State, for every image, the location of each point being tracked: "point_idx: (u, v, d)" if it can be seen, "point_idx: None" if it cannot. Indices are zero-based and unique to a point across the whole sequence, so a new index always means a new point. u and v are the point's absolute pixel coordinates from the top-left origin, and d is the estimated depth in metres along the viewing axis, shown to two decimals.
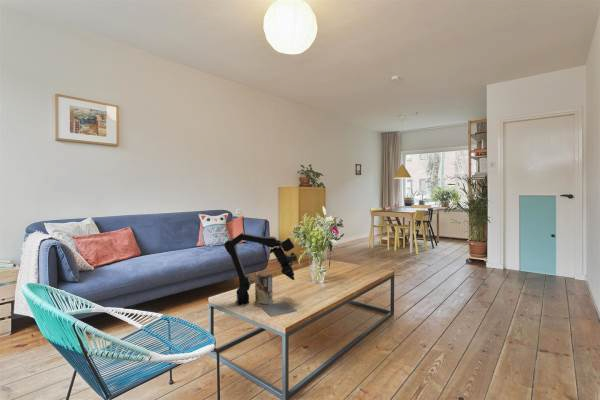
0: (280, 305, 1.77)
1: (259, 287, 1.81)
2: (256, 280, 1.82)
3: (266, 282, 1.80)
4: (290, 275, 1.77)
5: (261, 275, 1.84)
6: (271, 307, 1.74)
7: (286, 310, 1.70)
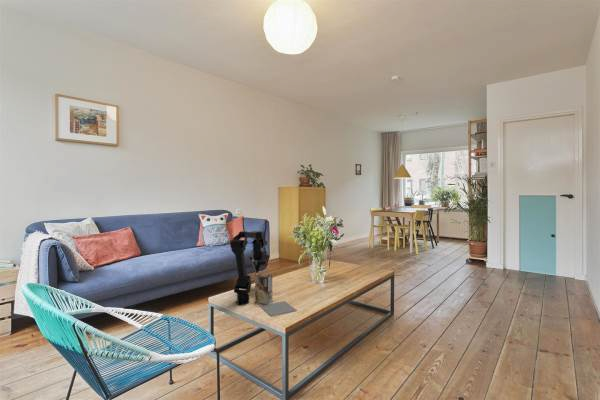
0: (280, 305, 1.77)
1: (259, 287, 1.81)
2: (256, 280, 1.82)
3: (266, 282, 1.80)
4: (257, 268, 2.00)
5: (261, 275, 1.84)
6: (271, 307, 1.74)
7: (286, 310, 1.70)
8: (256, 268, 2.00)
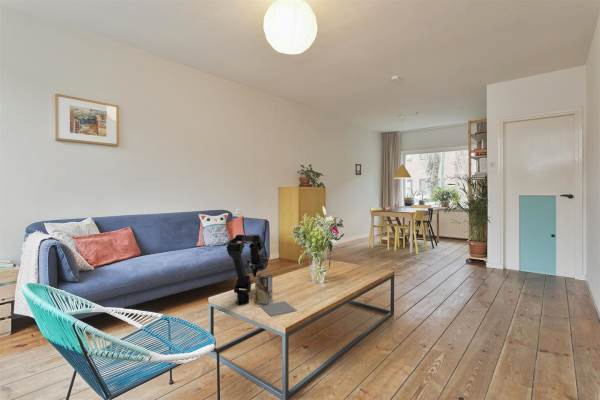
0: (280, 305, 1.77)
1: (259, 287, 1.81)
2: (256, 280, 1.82)
3: (266, 282, 1.80)
4: (254, 272, 1.97)
5: (261, 275, 1.84)
6: (271, 307, 1.74)
7: (286, 310, 1.70)
8: (254, 272, 1.96)
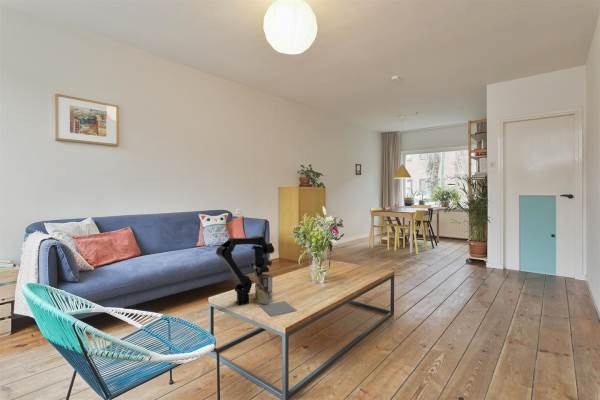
0: (280, 305, 1.77)
1: (259, 287, 1.81)
2: (256, 280, 1.82)
3: (266, 282, 1.80)
4: None
5: (261, 275, 1.84)
6: (271, 307, 1.74)
7: (286, 310, 1.70)
8: None
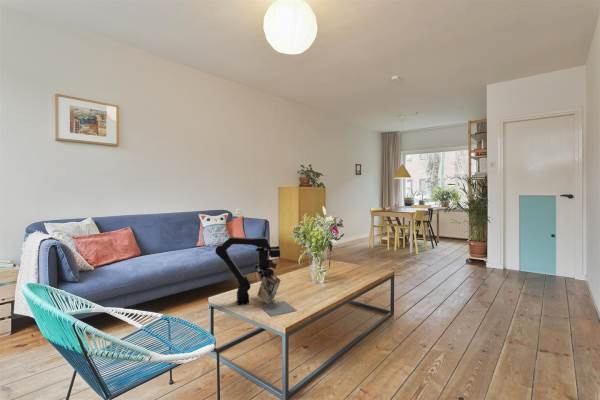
0: (280, 305, 1.77)
1: (264, 287, 1.78)
2: (263, 280, 1.77)
3: (272, 287, 1.74)
4: None
5: (270, 276, 1.77)
6: (271, 307, 1.74)
7: (286, 310, 1.70)
8: (262, 278, 1.83)
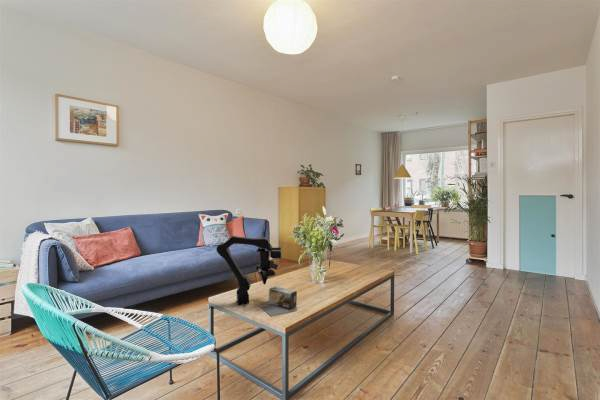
0: None
1: (281, 297, 1.74)
2: (287, 295, 1.72)
3: (285, 306, 1.73)
4: (264, 279, 1.82)
5: (293, 297, 1.73)
6: (271, 307, 1.74)
7: (286, 310, 1.70)
8: (263, 279, 1.81)
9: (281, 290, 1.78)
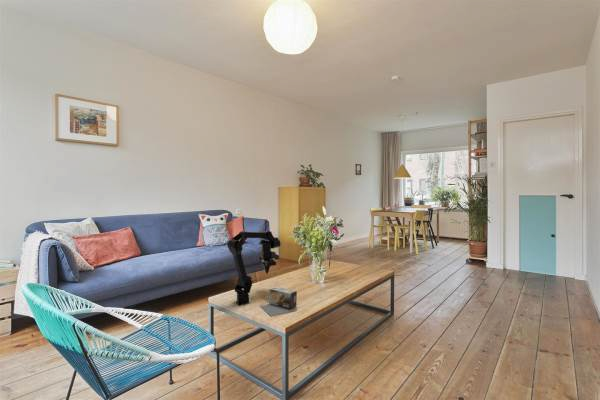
0: None
1: (281, 297, 1.74)
2: (287, 295, 1.72)
3: (285, 306, 1.73)
4: (267, 268, 1.96)
5: (293, 297, 1.73)
6: (271, 307, 1.74)
7: (286, 310, 1.70)
8: (266, 269, 1.96)
9: (281, 290, 1.78)
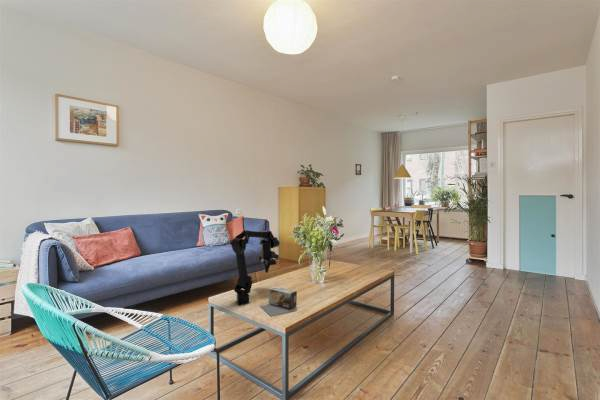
0: None
1: (281, 297, 1.74)
2: (287, 295, 1.72)
3: (285, 306, 1.73)
4: (267, 267, 1.99)
5: (293, 297, 1.73)
6: (271, 307, 1.74)
7: (286, 310, 1.70)
8: (266, 268, 1.99)
9: (281, 290, 1.78)
